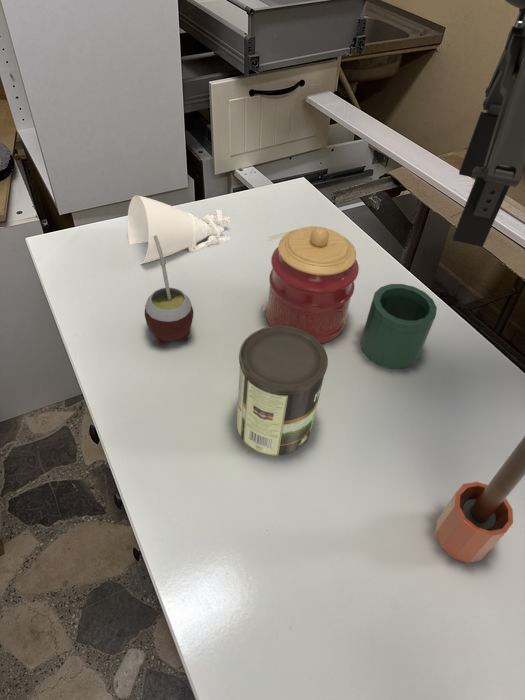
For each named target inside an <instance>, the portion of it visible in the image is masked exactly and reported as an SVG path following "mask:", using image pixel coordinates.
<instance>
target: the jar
mask: <svg viewBox="0 0 525 700" xmlns="http://www.w3.org/2000/svg"><path fill="white" fill-rule="evenodd" d="M369 307H370V308H369V311H368V315H367V318H366V321H365V324H364V328H363V332H362V336H361V338H360V343H359V344H360V347H361V351H362V353H363V354H364V355H365V356H366V358H367V359H368V360H369V361H370V362H373V363H374V364H376V365H378V366H380V367H383V368H387V369H391V370H397V369H398V370H402V369H406V368H409V367H411V366H413V365H414V364H415V363H416V362H417V361H418V360H419V357H420V355H421V353H422V350H423V348H424V345H425V343H426V340H427V339H428V335H429V334H430V332H431V328H432V326H433V324H434V321H435V319H436V316H437V309H438V308H437V307H438V306H437V305H436V302H435V301H434V299H433V298H432V297H431V296H430V295H428V293H426V292H425V291H424V290H422V289H420V288H418V287H416V286H413V285H408V284H404V283H389V284H386V285H383V286H381V287H379V288H378V289H377V290H376V291H374V294H373V297H372V301H371V303H370V306H369Z"/></svg>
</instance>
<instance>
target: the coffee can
mask: <svg viewBox="0 0 525 700" xmlns="http://www.w3.org/2000/svg"><path fill="white" fill-rule="evenodd" d="M328 359H329V358H328V354H327V351H326V348H325V347H324V346H323V343H320V342H319V341H318V340H317V339H316V338H315V337H313V336H312V335H310V334H309V333H307V332H305V331H302V330H300V329H297V328H293V327H287V326H272V327H271V326H267V327H262V328H260V329H258V330H256V331H254V332H252V333H251V334H249V335H248V336H247V337H246V338H245V340H244V341H243V342H242V343H241V345H240V348H239V353H238V363H239V376H238V394H237V411H236V428H237V431H238V432H237V433H238V434H239V436H240V437H241V440H242V441H243V442H244V444H246V445H247V446H248V447H249V448H251V449H253V450H255V451H256V452H258V453H261V454H264V455H267V456H268V455H269V456H285V455H289V454H292V453H294V452H296V451H298V450H299V449H301V448H302V447H304V446H305V444H306V443H307V442H308V441H309V439H310V437H311V433H312V431H313V425H314V420H315V416H316V412H317V407H318V403H319V398H320V395H321V390H322V386H323V382H324V379H325V375H326V372H327V370H328V366H329V360H328Z"/></svg>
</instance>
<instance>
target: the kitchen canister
mask: <svg viewBox="0 0 525 700" xmlns="http://www.w3.org/2000/svg"><path fill="white" fill-rule="evenodd" d="M270 261H271V262H270V263H271V270H270V272H269V277H268V278H269V279H268V280H269V290H268V300H267V302H266V310H265V315H266V316H265V317H266V320H267V322H268V325H269V327H272V326H287V327H293V328H297V329H300V330H302V331H305V332H307V333H309V334H310V335H312V336H313V337H315V338H316V339H317V340H318V341H319V342H320V343H321V344H324V343H328V342H330V341H332V340H334V339H336V338H337V337H338V336H339V335H340V334H341V333H342V332H343V331H344V328H345V326H346V323H347V319H348V310H349V306H350V303H351V299H352V296H353V295H354V292H355V281H356V279H357V277H358V275H359V273H360V268H359V267H360V266H359V263H358V261H357V251H356V248H355V246H354V244H353V243H352V242H351V240H349V239H348V238H346V237H345V236H344V235H342V234H340V233H339V232H337V231H335V230H333V229H330V228H327V227H323V226H314V225H313V226H304V227H300V228H296V229H293V230H290V231H289V232H287V233H285V234H284V235H283V236H282V237H281V239H280V240H279V242H278V245H277V247H276V248H275V249H274V251H273V252H272V254H271V258H270Z"/></svg>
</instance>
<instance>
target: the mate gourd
mask: <svg viewBox="0 0 525 700" xmlns="http://www.w3.org/2000/svg"><path fill="white" fill-rule="evenodd" d="M154 240H155V243H156V246H157V249H158V253H159V257H160V258H159V259H158V260H159V264H160V266H161V271H162V276H163V282H164V286H165V287H161V288H159V289H157V290H155V291H153V293H151V294H150V295H149V296H148V298H147V300H146V303H145V305H144V318H145V322H146V326H147V327H148V329H149V330H150V332H151V334H153V335H154V337H155V339H156V341H157V344H158V346H162V345H163V344H164V343H165V342H174V341H177V340H181V341H185V342H186V341H188V339H189V337H190V334H191V333H190V331H191V327H192V324H193V320H194V308H193V304H192V301H191V299H190V297H189V296H188V295H187V294H185V293H184V292H183V290H181V289H179V288H176V287H170V284H169V279H168V272H167V266H166V264H167V262H166V257H163V253H162V249H161V246H160V243H159V240H158V237H157V236H154Z"/></svg>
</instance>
